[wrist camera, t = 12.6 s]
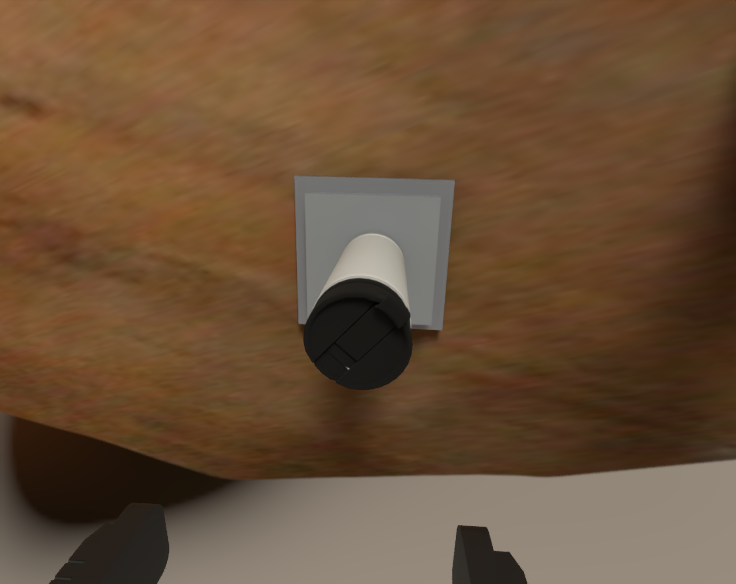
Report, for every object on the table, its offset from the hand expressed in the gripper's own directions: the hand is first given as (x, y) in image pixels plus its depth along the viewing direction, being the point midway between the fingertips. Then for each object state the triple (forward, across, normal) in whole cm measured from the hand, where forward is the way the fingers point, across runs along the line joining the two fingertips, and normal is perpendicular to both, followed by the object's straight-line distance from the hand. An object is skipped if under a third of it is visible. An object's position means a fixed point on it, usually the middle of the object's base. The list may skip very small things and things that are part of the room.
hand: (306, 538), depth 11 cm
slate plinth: (+36, 0, 0) cm, 36 cm away
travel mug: (+32, 0, 0) cm, 32 cm away
